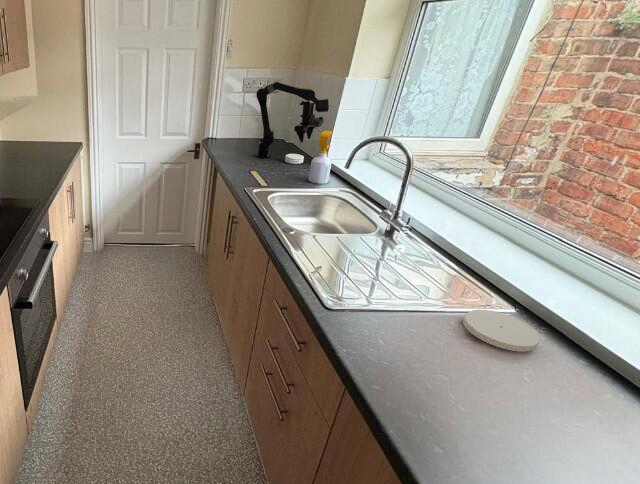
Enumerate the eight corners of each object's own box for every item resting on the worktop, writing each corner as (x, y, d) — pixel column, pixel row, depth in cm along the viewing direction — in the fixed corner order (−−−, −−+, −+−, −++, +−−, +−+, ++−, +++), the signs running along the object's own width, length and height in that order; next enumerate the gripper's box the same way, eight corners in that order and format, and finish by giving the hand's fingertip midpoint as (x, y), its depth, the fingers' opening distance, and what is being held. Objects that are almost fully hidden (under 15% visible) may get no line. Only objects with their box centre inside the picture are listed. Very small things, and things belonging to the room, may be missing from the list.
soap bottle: (330, 180, 207) (340, 131, 196) (323, 185, 201) (333, 134, 190) (312, 177, 212) (321, 128, 201) (305, 181, 206) (314, 131, 195)
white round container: (305, 164, 233) (306, 158, 232) (287, 164, 234) (288, 158, 232) (299, 159, 242) (300, 153, 241) (282, 159, 243) (283, 153, 241)
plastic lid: (552, 352, 95) (557, 343, 94) (496, 357, 94) (500, 348, 93) (497, 315, 108) (501, 307, 106) (447, 319, 106) (451, 311, 105)
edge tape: (250, 171, 223) (250, 171, 223) (255, 171, 223) (255, 171, 223) (261, 185, 202) (261, 185, 202) (267, 185, 202) (267, 185, 201)
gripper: (314, 116, 221) (312, 145, 228) (329, 110, 233) (326, 138, 239) (294, 115, 229) (292, 143, 236) (309, 109, 240) (307, 136, 247)
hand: (305, 140), depth 239 cm, fingers open, 9 cm apart
